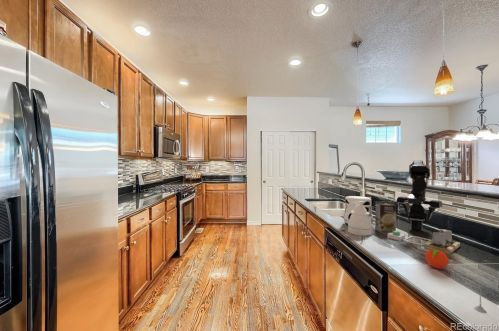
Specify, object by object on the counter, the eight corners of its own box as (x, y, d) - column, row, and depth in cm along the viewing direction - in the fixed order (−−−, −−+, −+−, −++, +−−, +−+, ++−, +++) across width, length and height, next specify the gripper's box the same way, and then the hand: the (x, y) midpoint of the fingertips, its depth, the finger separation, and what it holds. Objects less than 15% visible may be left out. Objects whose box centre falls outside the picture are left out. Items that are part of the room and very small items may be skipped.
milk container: (340, 221, 157) (340, 195, 157) (366, 222, 156) (366, 196, 156) (348, 228, 140) (348, 199, 140) (377, 229, 138) (378, 200, 138)
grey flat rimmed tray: (412, 238, 123) (412, 235, 123) (432, 242, 116) (432, 240, 116) (402, 242, 116) (402, 239, 116) (423, 248, 108) (423, 245, 108)
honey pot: (352, 227, 142) (353, 199, 141) (375, 232, 132) (375, 201, 132) (344, 232, 133) (344, 201, 132) (367, 237, 123) (368, 204, 123)
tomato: (444, 274, 82) (444, 255, 82) (421, 267, 88) (421, 249, 88) (450, 268, 87) (451, 250, 87) (428, 262, 93) (428, 244, 93)
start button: (394, 235, 122) (394, 230, 122) (400, 236, 119) (400, 231, 119) (391, 236, 120) (391, 231, 120) (398, 237, 117) (398, 232, 117)
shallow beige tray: (435, 242, 116) (436, 237, 116) (459, 248, 109) (460, 242, 109) (423, 249, 106) (423, 244, 106) (449, 256, 99) (449, 250, 99)
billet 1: (431, 248, 105) (431, 233, 105) (434, 246, 108) (434, 231, 108) (443, 251, 102) (444, 236, 101) (446, 249, 104) (447, 234, 104)
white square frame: (392, 237, 124) (392, 231, 124) (404, 240, 119) (405, 234, 119) (387, 239, 120) (387, 233, 120) (400, 242, 115) (400, 236, 115)
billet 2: (440, 242, 113) (440, 228, 113) (452, 245, 110) (453, 231, 110) (437, 244, 111) (437, 230, 111) (449, 247, 107) (450, 232, 107)
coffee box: (379, 232, 133) (380, 204, 133) (374, 228, 140) (375, 203, 140) (396, 232, 132) (396, 205, 132) (390, 229, 139) (391, 203, 139)
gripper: (392, 187, 122) (392, 216, 123) (435, 191, 107) (435, 224, 108) (401, 186, 129) (400, 213, 129) (442, 190, 114) (442, 220, 114)
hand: (418, 217), depth 120 cm, fingers open, 9 cm apart
